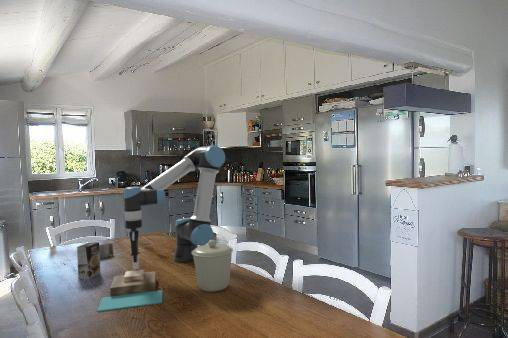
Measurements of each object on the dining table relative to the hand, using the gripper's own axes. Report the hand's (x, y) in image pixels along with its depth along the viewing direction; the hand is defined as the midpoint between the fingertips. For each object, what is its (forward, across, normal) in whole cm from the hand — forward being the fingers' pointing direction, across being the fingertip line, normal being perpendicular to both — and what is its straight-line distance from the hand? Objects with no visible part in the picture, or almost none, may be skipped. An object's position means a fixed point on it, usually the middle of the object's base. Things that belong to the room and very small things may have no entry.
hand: (135, 268), depth 169 cm
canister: (+5, +24, +34) cm, 42 cm away
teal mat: (+5, +27, 0) cm, 28 cm away
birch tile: (+1, +10, 0) cm, 10 cm away
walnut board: (+5, +12, 0) cm, 13 cm away
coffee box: (+6, -13, -23) cm, 27 cm away
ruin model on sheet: (+6, -48, -22) cm, 53 cm away
